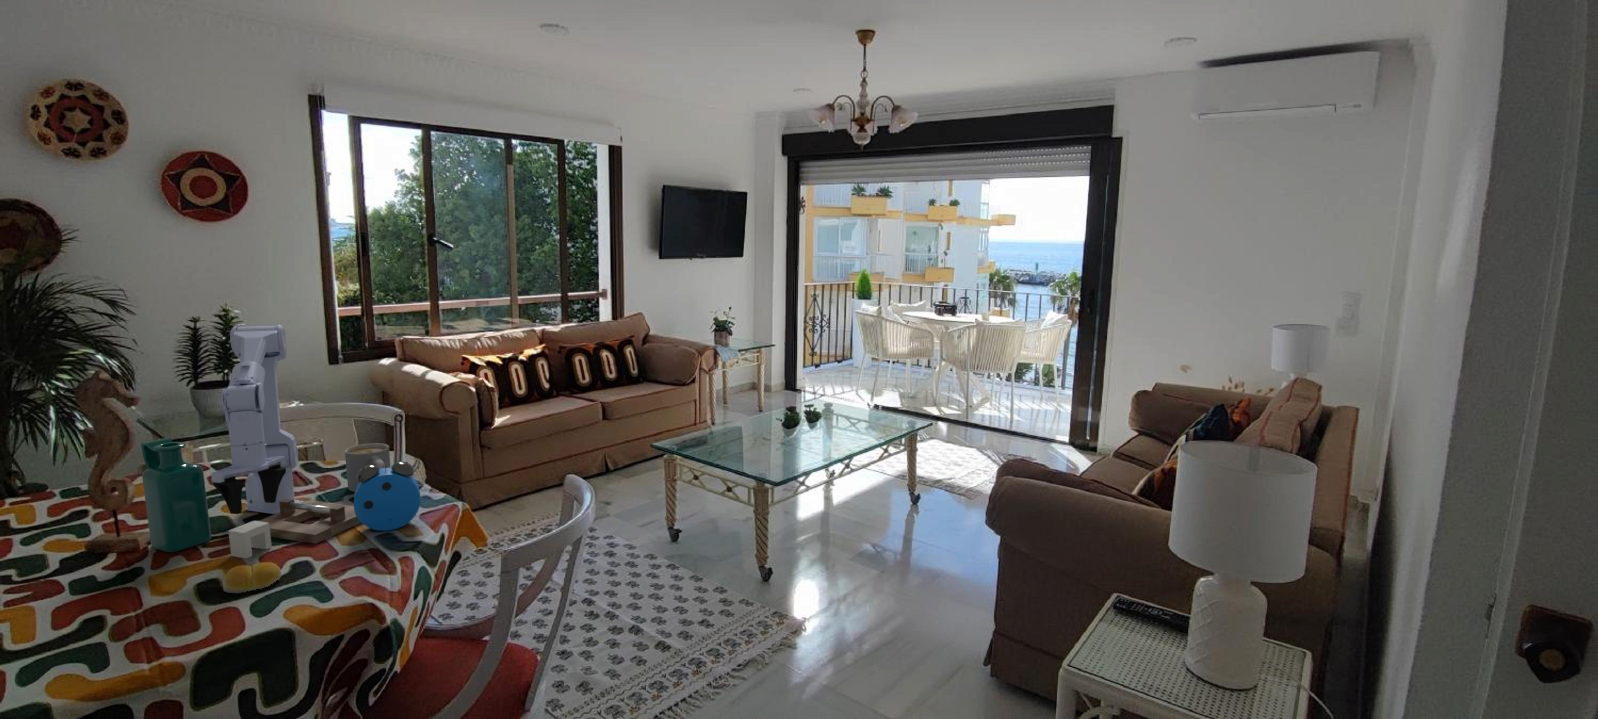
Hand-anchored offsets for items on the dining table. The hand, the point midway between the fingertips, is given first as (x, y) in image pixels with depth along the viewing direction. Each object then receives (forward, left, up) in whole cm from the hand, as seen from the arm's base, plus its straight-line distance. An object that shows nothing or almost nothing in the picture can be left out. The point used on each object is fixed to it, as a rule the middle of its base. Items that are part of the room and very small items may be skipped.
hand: (253, 507), depth 158 cm
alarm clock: (+16, +18, -10) cm, 26 cm away
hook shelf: (-1, +14, -9) cm, 17 cm away
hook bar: (-1, +14, -6) cm, 15 cm away
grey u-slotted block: (-1, -1, -9) cm, 9 cm away
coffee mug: (-8, +38, -10) cm, 40 cm away
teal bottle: (-19, -2, -10) cm, 21 cm away
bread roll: (+12, -12, -10) cm, 20 cm away
